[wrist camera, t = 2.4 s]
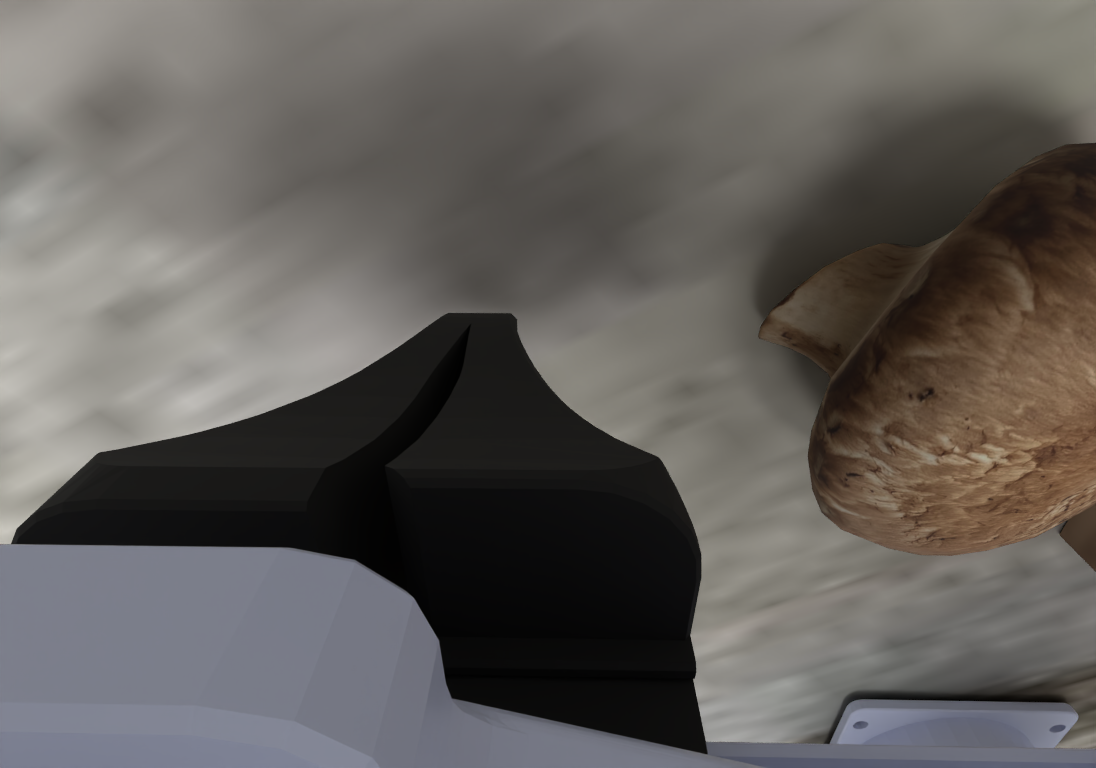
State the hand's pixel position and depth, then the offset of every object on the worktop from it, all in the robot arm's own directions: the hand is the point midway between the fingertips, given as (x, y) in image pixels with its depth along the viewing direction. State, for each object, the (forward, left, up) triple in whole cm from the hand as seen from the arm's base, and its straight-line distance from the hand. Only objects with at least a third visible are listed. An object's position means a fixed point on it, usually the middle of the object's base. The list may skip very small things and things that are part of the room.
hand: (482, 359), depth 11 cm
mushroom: (0, -9, -3) cm, 10 cm away
